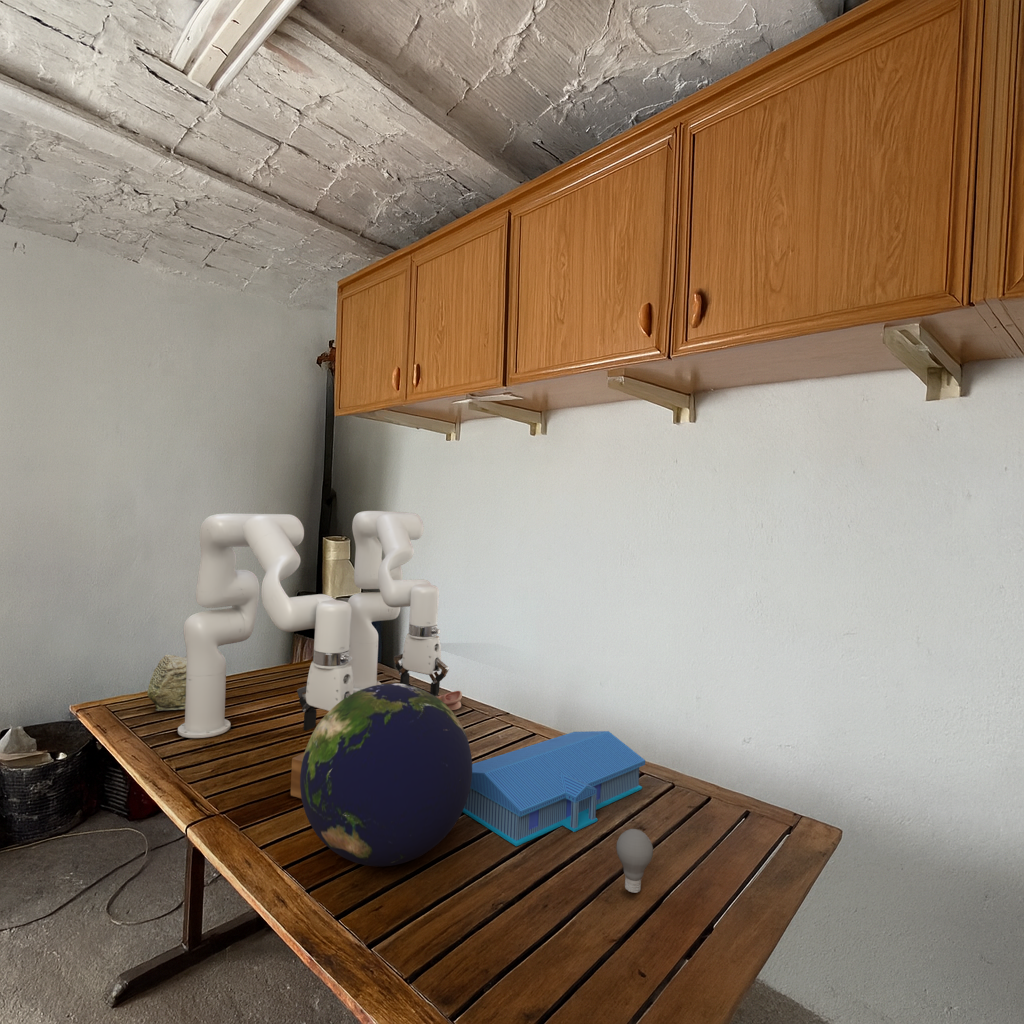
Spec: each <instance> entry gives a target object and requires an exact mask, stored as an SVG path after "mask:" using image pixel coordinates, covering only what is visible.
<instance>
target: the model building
mask: <svg viewBox="0 0 1024 1024" xmlns="http://www.w3.org/2000/svg"><path fill="white" fill-rule="evenodd" d="M645 765H646V759H644V758H643V757H642V756H640V755H639V754H638V753H637V752H636V751H634V750H633V749H632V748H631V747H629V746H628V745H627V744H625V742H623V741H622V740H620V739H619V738H618V737H617V736H616V735H614V734H613V733H612V732H610V731H609V730H595V731H593V730H592V731H591V730H590V731H572V732H569V733H566V734H563V735H560V736H559V735H558V736H556V737H553V738H551V739H547V740H543V741H541V742H537V743H535V744H530V745H528V746H525V747H522V748H519V749H515V750H513V751H509V752H506V753H503V754H500V755H496V756H493V757H490V758H487V759H483V760H481V761H477V762H474V763H472V780H471V786H470V791H469V795H468V798H467V802H466V804H465V807H464V809H463V811H462V814H465V815H467V816H468V817H470V818H471V819H473V820H474V821H476V822H478V823H479V824H481V825H482V826H484V827H485V828H486V829H488V830H490V831H491V832H493V833H494V834H496V835H498V836H499V837H501V838H502V839H503V840H505V841H507V842H509V843H510V844H512V845H514V846H515V847H518V846H519V847H520V845H523V844H525V843H527V842H530V841H532V840H535V839H536V838H538V837H540V836H543V835H545V834H547V833H549V832H551V831H553V830H556V829H558V828H560V827H565V828H566V829H568V830H569V831H572V832H573V833H576V832H578V831H579V830H583V829H584V828H586V827H588V826H591V825H593V824H595V823H597V822H598V821H599V818H597V816H596V814H597V810H599V809H601V808H604V807H606V806H608V805H610V804H612V803H615V802H617V801H619V800H621V799H624V798H626V797H628V796H630V795H632V794H634V793H636V792H638V791H639V792H640V791H641V790H643V786H642V785H640V768H641V767H644V766H645Z"/></svg>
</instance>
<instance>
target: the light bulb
mask: <svg viewBox="0 0 1024 1024" xmlns="http://www.w3.org/2000/svg"><path fill="white" fill-rule="evenodd" d="M615 849H616V854H617V857H618V859H619V861H620V863H621V865H622V867H623V873H624V874H623V875H624V876H625V878H624V888H625V890H627V891H628V892H630V893H634V894H635V893H639V892H640V891H641V889H642V887H641V886H642V879H643V877H644V875H645V871H646V868H647V867H648V866H649V864H650V863H651V861H652V859H653V855H654V847H653V843H652V841H651V838H649V836H648V835H647V834H646V833H645V832H643V831H642V830H641V829H636V828H629V829H627V830H625V831H623V832H622V833H621V834H620V835H619V837H618V839H617V841H616V847H615Z"/></svg>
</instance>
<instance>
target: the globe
mask: <svg viewBox="0 0 1024 1024" xmlns="http://www.w3.org/2000/svg"><path fill="white" fill-rule="evenodd" d="M461 723H462V722H460V720H459V718H458V717H457V715H456V714H455V713H454V712H453V710H450V709H449V707H448V706H447V705H446V704H445V703H443V702H442V701H441V700H440V699H438V698H437V696H434V695H432V694H430V692H428V691H426V690H424V689H422V688H419V687H416V686H413V685H410V684H409V685H405V684H400V683H381V685H375V686H371V687H368V688H365V689H362V690H360V691H357V692H355V693H353V694H351V695H350V696H348V697H346V698H345V699H343V700H342V701H340V702H339V703H338V704H337V705H335V706H334V707H333V708H332V709H331V710H330V711H327V713H326V714H325V715H324V716H323V717H322V718H321V719H320V721H319V722H318V723H317V724H316V726H315V727H314V730H313V731H312V733H311V735H310V738H309V740H308V743H307V744H306V747H305V750H304V752H303V753H304V756H303V760H302V766H301V774H300V790H301V798H302V799H301V798H300V799H301V802H302V807H303V811H304V813H305V815H306V818H307V820H308V822H309V824H310V827H311V828H312V830H313V831H314V833H315V834H316V836H317V837H318V839H320V841H321V842H322V843H323V844H324V845H325V846H326V847H328V849H330V850H331V851H332V852H334V853H335V854H337V855H338V856H340V857H341V858H343V859H345V860H347V861H348V862H349V861H350V862H353V863H356V864H358V865H363V866H368V867H376V868H377V867H383V868H384V867H392V866H398V865H402V864H405V863H409V862H410V861H413V860H416V859H418V858H420V857H421V856H424V855H425V854H426V853H428V852H430V851H431V850H432V849H433V848H435V847H436V846H437V845H439V844H440V843H441V842H442V841H443V840H444V839H445V838H446V837H447V836H448V834H450V832H451V831H452V830H453V828H454V827H455V825H456V824H457V822H458V820H459V819H460V817H461V815H462V814H463V812H462V811H463V809H464V807H465V804H466V802H467V798H468V795H469V791H470V786H471V780H472V764H473V758H472V757H473V756H472V752H471V746H470V743H469V742H470V741H469V739H468V736H467V732H466V731H465V729H464V727H463V725H462V724H461Z"/></svg>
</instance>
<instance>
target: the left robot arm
mask: <svg viewBox="0 0 1024 1024" xmlns="http://www.w3.org/2000/svg"><path fill="white" fill-rule="evenodd" d="M304 537H305V528H304V525H303V523H302V522H301V520H300V519H299V518H298V517H297V516H296V515H294V514H291V513H289V514H288V513H287V514H286V513H241V512H240V513H239V512H238V513H237V512H236V513H235V512H234V513H233V512H230V513H215V514H212V515H209V516H207V517H206V518H205V519H204V520H203V522H202V523H201V525H200V529H199V545H200V561H199V568H198V575H197V581H196V588H195V600H196V603H197V604H198V605H199V606H200V607H202V608H207V609H210V610H203V611H199V612H196V613H193V614H191V615H190V616H188V617H187V618H186V620H185V621H184V623H183V638H184V643H185V645H184V646H185V653H186V654H185V657H187V667H186V701H185V709H184V722H182V724H180V725H179V726H178V727H177V734H178V735H179V736H180V737H182V738H188V739H207V738H212V737H216V736H220V735H222V734H224V733H227V732H228V731H230V729H231V727H232V725H231V723H232V722H231V721H230V720H228V719H226V718H225V715H226V692H227V691H226V689H227V661H226V658H225V656H224V654H223V653H222V652H221V651H220V649H219V647H220V646H221V647H222V646H224V645H231V644H235V643H242V642H244V641H246V640H248V639H249V638H250V637H251V636H252V634H253V631H254V628H255V622H256V618H257V612H258V611H257V610H258V607H259V606H258V605H259V601H260V593H261V602H262V606H263V607H264V609H265V612H266V613H267V616H268V617H269V618H270V620H271V622H272V623H273V624H274V626H275V627H276V628H277V629H278V630H280V631H282V632H285V633H294V632H299V631H306V630H314V640H313V641H314V643H313V656H312V661H311V663H310V666H309V670H308V675H307V680H306V685H305V686H302V687H300V688H298V689H297V690H296V693H297V696H298V699H299V700H298V701H299V704H300V706H301V707H302V708H301V711H302V712H303V713H304V714H303V728H302V729H303V731H305V732H306V731H309V730H311V729H313V728H314V729H315V728H316V727H317V713H318V712H317V709H320V710H322V711H327V712H329V711H330V710H331V709H332V708H333V707H334V706H335V705H337V704H338V703H339V702H340V701H342V700H343V699H345V698H346V697H348V696H350V695H351V694H353V673H352V667H351V665H350V664H348V663H350V662H351V660H352V657H350V656H349V645H350V630H351V614H352V608H351V605H350V604H349V603H348V601H345V600H339V599H335V598H334V597H332V596H330V595H328V594H324V593H318V594H307V595H298V596H289V595H288V594H287V592H286V591H285V590H284V588H283V586H282V584H281V582H282V581H283V580H285V579H287V578H289V577H290V576H292V575H293V574H294V573H295V572H296V571H297V570H298V569H299V567H300V565H301V560H302V559H301V556H300V554H299V553H298V551H297V550H296V548H295V547H298V546H299V545H300V544H301V543H302V542H303V540H304ZM239 547H249V548H250V550H251V551H252V553H253V555H254V556H255V558H256V559H257V561H258V563H259V565H260V566H261V569H262V570H263V571H264V573H265V574H264V577H263V580H262V583H261V588H260V583H259V578H258V577H257V575H256V574H255V573H254V572H253V571H251V570H248V569H236V565H237V559H238V558H237V553H236V551H235V549H234V548H239ZM260 589H261V591H260ZM227 607H228V608H227ZM229 607H230V608H229ZM220 608H221V609H220Z"/></svg>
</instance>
